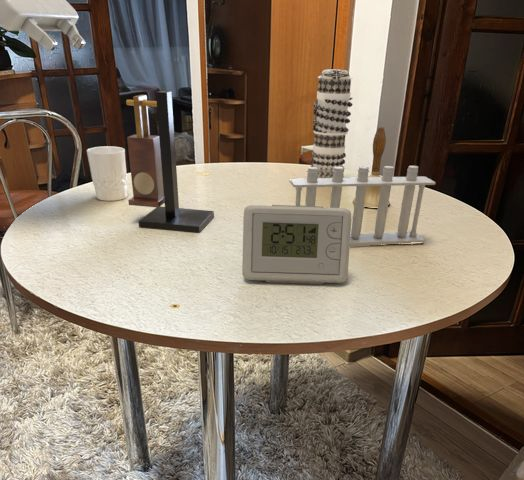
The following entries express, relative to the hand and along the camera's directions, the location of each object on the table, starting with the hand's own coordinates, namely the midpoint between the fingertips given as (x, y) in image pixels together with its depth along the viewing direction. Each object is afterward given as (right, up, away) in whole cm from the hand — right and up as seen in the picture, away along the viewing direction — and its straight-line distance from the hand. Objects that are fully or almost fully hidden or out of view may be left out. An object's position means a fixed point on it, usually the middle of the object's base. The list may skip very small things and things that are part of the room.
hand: (68, 47), depth 88 cm
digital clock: (+38, -41, -8) cm, 57 cm away
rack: (+16, -27, +13) cm, 34 cm away
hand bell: (+58, -19, +27) cm, 67 cm away
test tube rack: (+50, -33, +6) cm, 60 cm away
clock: (+11, -23, +12) cm, 28 cm away
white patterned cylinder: (+50, -9, +42) cm, 66 cm away
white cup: (0, -18, +27) cm, 32 cm away
